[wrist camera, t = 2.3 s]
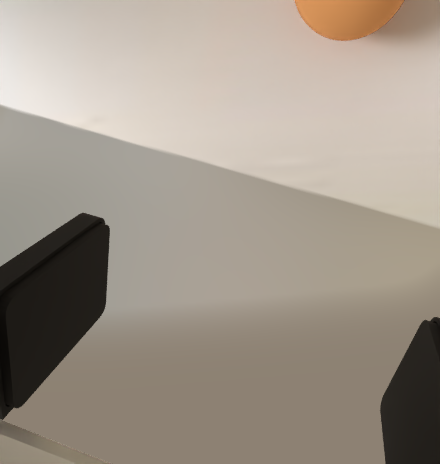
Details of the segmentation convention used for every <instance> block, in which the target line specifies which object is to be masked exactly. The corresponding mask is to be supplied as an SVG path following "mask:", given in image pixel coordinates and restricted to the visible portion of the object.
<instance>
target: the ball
mask: <svg viewBox="0 0 440 464" xmlns="http://www.w3.org/2000/svg"><path fill="white" fill-rule="evenodd" d="M403 2H404V0H295V4H296V6H297V9H298V11H299V13H300V15H301V17H302V18H303V20H304V21H305V23H306V24H307V25H308V26H309V27H310V28H311V29H312V30H314V31H315V32H316V33H318V34H320V35H321V36H324V37H326V38H329V39H333V40H341V41H346V40H354V39H359V38H362V37H365V36H367V35H369V34H371V33H373V32H375V31H376V30H378V29H380V28H381V27H382V26H383V25H385V24H386V23H387V22H388V21H389V20H390V19H391V18H392V17H393V16H394V15H395V13H396V12H397V11H398V10H399V8H400V7H401V5H402V3H403Z"/></svg>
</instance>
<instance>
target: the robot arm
mask: <svg viewBox="0 0 440 464" xmlns="http://www.w3.org/2000/svg"><path fill="white" fill-rule="evenodd" d="M109 236H110V228H109V226H108V225H105V221H104V219H103V218H100V217H96V216H93V215H90V214H86V213H81V214H79V215H78V216H76V217H75V218H73V219H72V220H70V221H69V222H67V223H66V224H64V225H63V226H61V227H59V228H58V229H56V230H55V231H53V232H52V233H51V234H49V235H47V236H46V237H45V238H43V239H41V240H40V241H38V242H37V243H35V244H34V245H32V246H31V247H29V248H28V249H26V250H25V251H23V252H22V253H20V254H19V255H17V256H16V257H14V258H13V259H11V260H10V261H8V262H7V263H5V264H4V265H2V266H1V267H0V419H2V420H3V419H4V418H5V417H6V416H7V414H8V413H9V412H10V411H11V410H12V409H13V408H19V407H21V406H22V405H23V404H24V403H25V402H26V401H27V400H28V399H29V397H30V396H31V395H32V394H33V393H34V392H35V391H36V390H37V388H38V387H39V386H40V385H41V384H42V383H43V381H44V380H45V379H46V378H47V377H48V376H49V375H50V373H51V372H52V371H53V370H54V369H55V368H56V367H57V366H58V364H59V363H60V362H61V361H62V360H63V359H64V357H65V356H66V355H67V354H68V353H69V352H70V351H71V350H72V348H73V347H74V346H75V345H76V344H77V343H78V341H79V340H80V339H81V338H82V337H83V336H84V335H85V334H86V332H87V331H88V330H89V329H90V328H91V327H92V326H93V324H94V323H95V322H96V321H97V320H98V318H100V316H101V315H102V313H103V311H104V309H105V305H106V291H107V272H108V253H109ZM380 411H381V422H382V432H383V441H384V451H385V461H386V464H440V318H438V317H434V318H433V319H432V320H431V321H427V320H424V321H423V322H422V323H421V325H420V327H419V329H418V330H417V332H416V334H415V336H414V338H413V340H412V342H411V344H410V346H409V348H408V350H407V352H406V353H405V355H404V358H403V359H402V361H401V363H400V365H399V367H398V369H397V371H396V372H395V374H394V376H393V378H392V380H391V382H390V384H389V386H388V388H387V390H386V392H385V393H384V395H383V398H382V402H381V410H380ZM2 420H0V464H111V463H109V462H106V461H104V460H101V459H98V458H96V457H94V456H91V455H89V454H86V453H83V452H81V451H78V450H76V449H73V448H71V447H68V446H66V445H63V444H60V443H58V442H55V441H53V440H50V439H48V438H45V437H43V436H40V435H38V434H35V433H32V432H30V431H27V430H25V429H22V428H20V427H17V426H15V425H12V424H10V423H7V422H5V421H2Z"/></svg>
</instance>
